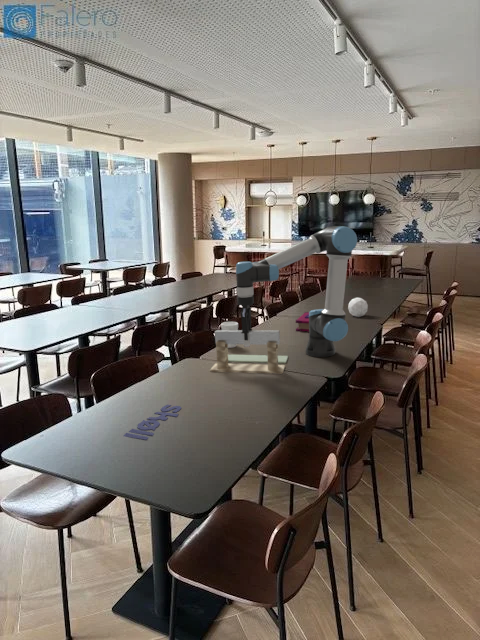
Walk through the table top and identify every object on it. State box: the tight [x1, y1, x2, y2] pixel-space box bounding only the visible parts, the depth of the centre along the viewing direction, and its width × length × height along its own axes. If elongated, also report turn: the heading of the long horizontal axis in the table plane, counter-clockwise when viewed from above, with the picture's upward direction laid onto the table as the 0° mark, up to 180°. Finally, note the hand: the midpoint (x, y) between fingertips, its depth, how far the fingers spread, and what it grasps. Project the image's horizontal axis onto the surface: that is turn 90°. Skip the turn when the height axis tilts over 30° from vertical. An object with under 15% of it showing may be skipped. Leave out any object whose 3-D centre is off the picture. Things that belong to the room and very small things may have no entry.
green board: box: [228, 354, 289, 364], centre depth 239 cm, size 34×10×1 cm, turn 79°
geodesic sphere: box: [347, 297, 369, 318], centre depth 331 cm, size 14×14×14 cm
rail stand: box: [209, 341, 286, 375], centre depth 222 cm, size 34×10×14 cm, turn 79°
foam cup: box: [220, 321, 239, 349], centre depth 264 cm, size 10×9×13 cm
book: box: [295, 311, 310, 333], centre depth 304 cm, size 21×28×8 cm
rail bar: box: [214, 329, 281, 346], centre depth 221 cm, size 30×3×6 cm, turn 79°
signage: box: [123, 404, 182, 441], centre depth 170 cm, size 28×1×10 cm
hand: (247, 345), depth 221 cm, fingers closed on rail bar, 3 cm apart
